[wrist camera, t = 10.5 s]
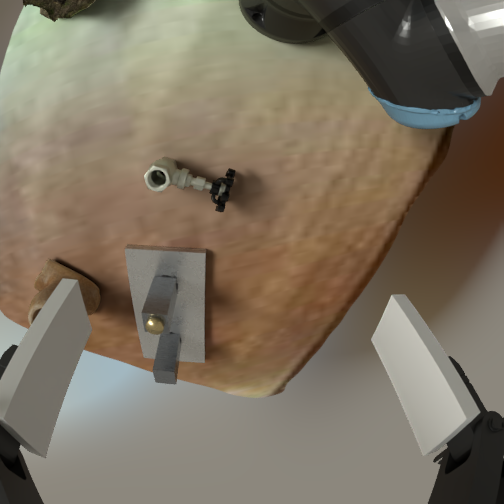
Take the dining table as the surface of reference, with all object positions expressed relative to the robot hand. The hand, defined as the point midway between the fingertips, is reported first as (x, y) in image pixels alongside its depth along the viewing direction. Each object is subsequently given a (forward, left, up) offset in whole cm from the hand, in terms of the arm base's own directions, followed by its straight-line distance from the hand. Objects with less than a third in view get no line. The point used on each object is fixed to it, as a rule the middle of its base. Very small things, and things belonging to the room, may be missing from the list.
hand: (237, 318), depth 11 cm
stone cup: (+31, +25, -35) cm, 53 cm away
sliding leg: (+10, +23, -33) cm, 41 cm away
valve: (+6, +3, -35) cm, 36 cm away
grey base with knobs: (+10, +30, -35) cm, 47 cm away
